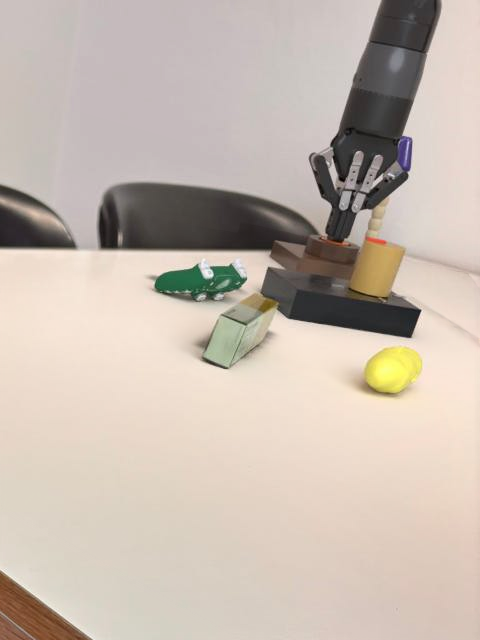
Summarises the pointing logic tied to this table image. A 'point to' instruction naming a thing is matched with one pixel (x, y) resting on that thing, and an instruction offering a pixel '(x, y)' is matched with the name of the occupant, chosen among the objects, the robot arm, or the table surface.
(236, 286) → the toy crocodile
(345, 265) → the switch block
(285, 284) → the dark grey flat block
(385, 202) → the toy lamp
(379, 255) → the dimmer knob
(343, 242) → the power button
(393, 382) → the lemon
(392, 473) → the table surface
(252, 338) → the medication box
